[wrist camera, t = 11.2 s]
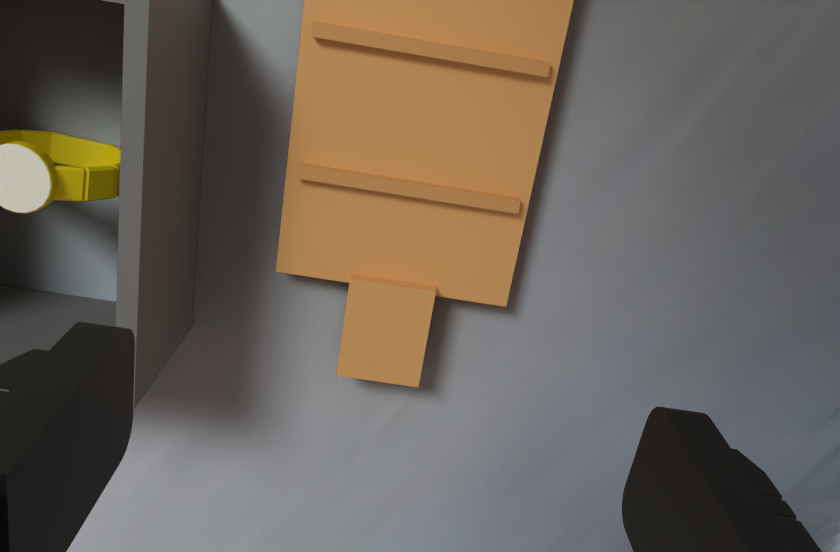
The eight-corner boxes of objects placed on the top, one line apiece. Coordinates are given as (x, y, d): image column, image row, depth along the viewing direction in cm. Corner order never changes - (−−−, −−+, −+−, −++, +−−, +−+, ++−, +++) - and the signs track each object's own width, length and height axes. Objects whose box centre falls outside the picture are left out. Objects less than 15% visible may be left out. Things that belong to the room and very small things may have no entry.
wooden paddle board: (321, -99, 31) (313, -108, 28) (576, -52, 32) (590, -58, 29) (273, 342, 38) (263, 365, 35) (484, 373, 38) (489, 397, 36)
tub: (-50, -56, 31) (-200, -78, 23) (212, -11, 32) (149, -18, 24) (-34, 295, 36) (-152, 369, 29) (191, 327, 37) (133, 408, 29)
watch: (21, 167, 35) (-66, 194, 29) (24, 108, 34) (-66, 125, 28) (146, 196, 35) (84, 229, 29) (152, 138, 34) (89, 161, 28)
